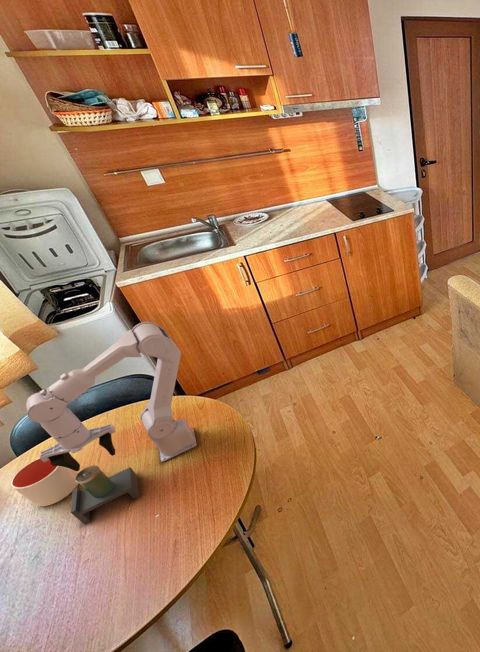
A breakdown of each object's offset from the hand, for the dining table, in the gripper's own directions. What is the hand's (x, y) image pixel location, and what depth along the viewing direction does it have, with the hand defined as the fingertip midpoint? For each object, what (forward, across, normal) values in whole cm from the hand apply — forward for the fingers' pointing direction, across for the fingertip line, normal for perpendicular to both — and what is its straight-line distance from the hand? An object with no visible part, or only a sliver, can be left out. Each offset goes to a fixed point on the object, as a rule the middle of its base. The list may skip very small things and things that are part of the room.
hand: (96, 460), depth 104 cm
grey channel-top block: (+10, -1, -6) cm, 12 cm away
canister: (+6, -1, -6) cm, 8 cm away
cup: (+11, -13, +7) cm, 18 cm away
